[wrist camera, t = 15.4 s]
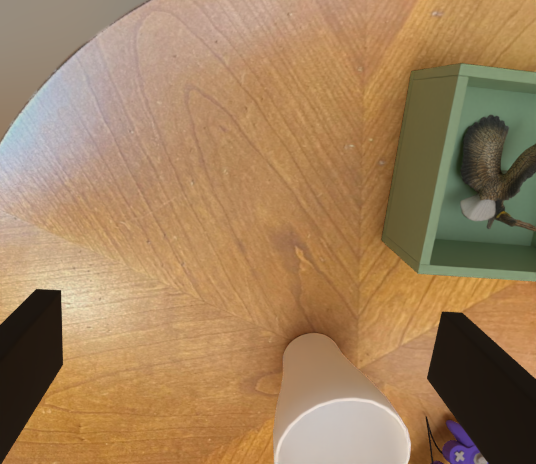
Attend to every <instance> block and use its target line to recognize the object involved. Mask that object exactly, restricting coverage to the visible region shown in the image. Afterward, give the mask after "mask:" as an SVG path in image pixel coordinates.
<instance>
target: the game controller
mask: <svg viewBox="0 0 536 464" xmlns="http://www.w3.org/2000/svg"><path fill="white" fill-rule="evenodd" d="M426 423H427V429H428V436H429V443H430V451H431V459H432V463H431V464H444V463H442V462H440V461H434V462H433V456H432V448H431V440H430V434H431V431H430V428H429V424H428V419H427V417H426ZM446 425H447V427H448V429H449V430H450V431H451V433H452V434H453V435H454V437H455V438H456V440H457V441H455V440H450V441H447V442H446V443H445V444H444V446H443V450H442V451H441V450H440V449H439V448H438V446H437V445H436V443H435V441H434V439H433V436H432V434H431V437H432V439H433V441H434V443H435V445H436V447H437V448H438V450H439V451H440V452H441V453H442V454H443V456H444V458H445V459H446V460H447V461H448V462H450V463H451V464H488V462H487V461H486V460H485V458H484V457H483V456H482V454H481V453H480V451H479V450H478V449H477V447H476V446H475V444H474V443H473V442H472V440H471V439H470V437H469V436H468V435H467V433H466V432H465V431H464V429H463V428H462V426H461V425H460V424H458V423H456V422H454V421H452V420H447V421H446ZM429 431H430V433H429Z"/></svg>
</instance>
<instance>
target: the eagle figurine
mask: <svg viewBox="0 0 536 464" xmlns="http://www.w3.org/2000/svg"><path fill="white" fill-rule="evenodd" d="M508 131H509V127H508V126H506V125H505V122H504V121H503V120H500V118H499V116H495V117H494V116H493V115H489V116H488V117H487V118H486V117H483V118H482V119H481V120H480V122H479V123H478V122H475V123H474V125H473V126H470V127H469V129H468V130H467V132H466V134H465V135H464V140H463V144H464V146H463V153H464V155H463V160H462V162H463V165H461V169H460V171H461V176H462V180H463V181H464V182H465V184H467V185H469V186H470V187H471V188H474V191H476V192H477V194H476V195H473V196H471V197H469V198H466V199H463V200H461V202H460V207H461V210H462V214H463V215H464V216H466V217H467V219H469V220H472V221H484V220H488V224H487V229H490V228H491V225H492V223H493V222H494V220H497V221H500V222H502V223H505V224H507V225H509V226H511V227H513V226H518V227H522V228H526V229H528V230H532V231H536V227H535V226H533V225H532V224H530V223H526V222H522V221H520V220H516V219H514V218H512V217H511V216H510V215H509V214H508V213H507V212H505V206H504V205H503V203H504V201H505V200H509V198H512V197H514V196H515V195H516V194H517V193H519V192H520V187H521V186H522V184H523V182H525V181H526V180H527V179H528V178H531V177H532V176H533V175H534V174H535V173H536V144H534V145H533V146H531V147H529V148H528V149H526V150H525V151H524V152H523V153H522V154H521V155H520V156H519V157H518V158H517V159H516V161H515V162H514V163H513V164H512V166H511V167H510V168H509V170H508V171H507V170H504V171H502V172H501V156H502V152H503V145H504V142H505V140H506V136H507V134H508Z"/></svg>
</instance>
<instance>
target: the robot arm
mask: <svg viewBox="0 0 536 464" xmlns="http://www.w3.org/2000/svg"><path fill="white" fill-rule="evenodd" d="M62 365H63V348H62V309H61V290H44V289H36V290H35V291H34V292H33V293H32V294H31V295H30V296H29V297H28V298H27V299H26V300H25V301H24V302H23V303H22V304H21V305H20V306H19V307H18V308H17V309H16V310H15V311H14V312H13V313H12V314H11V315H10V316H9V317H8V318H7V319H6V320H5V321H4V322H3V323H2V324H1V325H0V464H2V462H3V460H4V459H5V457H6V455H7V454H8V452H9V451H10V449H11V447H12V446H13V444H14V443H15V441H16V439H17V438H18V436H19V435H20V433H21V431H22V430H23V428H24V426H25V425H26V423H27V422H28V420H29V418H30V417H31V415H32V414H33V412H34V410H35V409H36V407H37V406H38V404H39V402H40V401H41V399H42V397H43V396H44V394H45V393H46V391H47V389H48V388H49V386H50V385H51V383H52V381H53V380H54V378H55V377H56V375H57V373H58V372H59V370H60V368H61V367H62ZM427 379H428V381H429V382H430V383H431V385H432V386H433V387H434V389H435V390H436V392H437V393H438V394H439V396H440V397H441V399H442V400H443V401H444V403H445V404H446V406H447V407H448V408H449V410H450V411H451V412H452V414H453V415H454V417H455V418H456V419H457V421H458V422H459V424H460V425H461V426H462V428H463V429H464V431H465V432H466V433H467V435H468V436H469V437H470V439H471V440H472V442H473V443H474V444H475V446H476V447H477V449H478V450H479V451H480V453H481V454H482V456H483V457H484V458H485V460H486V461H487V462H488V464H536V379H535V378H534V377H533V376H532V375H531V374H529V373H528V372H527V371H526V370H525V369H524V368H523V367H522V366H521V365H519V364H518V363H517V362H516V361H515V360H514V359H513V358H512V357H511V356H509V355H508V354H507V353H506V352H505V351H504V350H503V349H502V348H501V347H500V346H498V345H497V344H496V343H495V342H494V341H493V340H492V339H491V338H490V337H488V336H487V335H486V334H485V333H484V332H483V331H482V330H481V329H480V328H478V327H477V326H476V325H475V324H474V323H473V322H472V321H471V320H470V319H468V318H467V317H466V316H465V315H464V314H463V313H457V312H442V314H441V318H440V323H439V327H438V332H437V336H436V341H435V345H434V349H433V354H432V358H431V363H430V367H429V372H428V376H427Z"/></svg>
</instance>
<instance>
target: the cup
mask: <svg viewBox="0 0 536 464" xmlns="http://www.w3.org/2000/svg"><path fill="white" fill-rule="evenodd" d="M273 443H274V464H408V461H409V458H410V448H411V441H410V437H409V433H408V429H407V427H406V426H405V424H404V422H403V421H402V419H401V418H400V416H399V415H398V413H397V412H396V410H395V409H394V407H393V406H392V404H391V403H390V401H389V400H388V398H387V397H386V396H385V395H384V394H383V393H382V391H381V390H380V389H379V388H378V387H377V386H376V385H375V384H374V383H373V382H372V381H371V380H370V379H369V378H368V377H367V376H366V375H365V374H364V373H363V372H361V371H360V370H359V369H358V368H357V367H355V366H354V365H353V364H352V363H351V362H350V361H349V360H348V359H347V358H346V357H345V356H344V355H343V353H342V352H341V350H340V349H339V347H338V346H337V344H336V343H335V342H334V341H333V340H332V339H331V338H330V337H328V336H326V335H323V334H319V333H308V334H304V335H301V336H299V337H297V338H296V339H294V340H293V341H292V342H291V343H290V344H289V345H288V346H287V348H286V349H285V351H284V355H283V377H282V384H281V390H280V394H279V398H278V401H277V405H276V413H275V421H274V429H273Z"/></svg>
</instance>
